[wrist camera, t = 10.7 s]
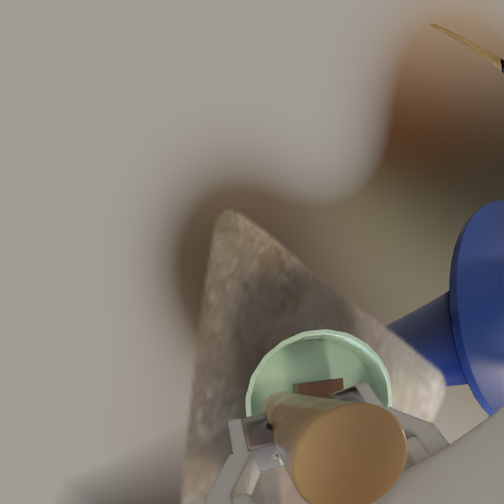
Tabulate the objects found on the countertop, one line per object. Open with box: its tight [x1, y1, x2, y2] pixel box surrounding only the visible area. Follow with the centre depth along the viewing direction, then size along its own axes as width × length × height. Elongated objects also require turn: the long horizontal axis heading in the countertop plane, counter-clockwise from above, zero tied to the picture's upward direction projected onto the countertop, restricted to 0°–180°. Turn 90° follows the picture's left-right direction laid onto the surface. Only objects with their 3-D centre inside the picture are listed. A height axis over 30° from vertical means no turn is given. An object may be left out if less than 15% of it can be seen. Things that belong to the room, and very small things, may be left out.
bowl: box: [245, 329, 392, 465], centre depth 26 cm, size 13×13×4 cm
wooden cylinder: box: [262, 391, 407, 504], centre depth 11 cm, size 3×3×14 cm
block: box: [293, 378, 344, 399], centre depth 26 cm, size 4×4×4 cm
